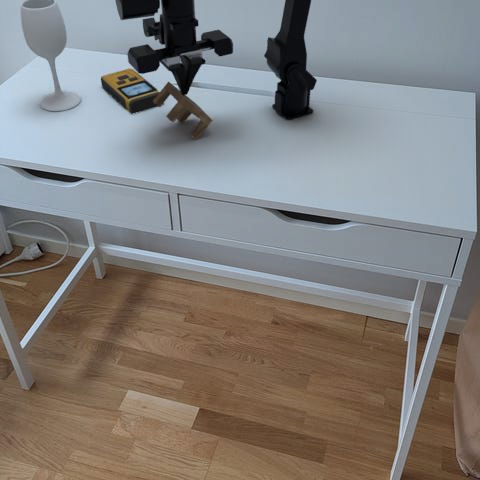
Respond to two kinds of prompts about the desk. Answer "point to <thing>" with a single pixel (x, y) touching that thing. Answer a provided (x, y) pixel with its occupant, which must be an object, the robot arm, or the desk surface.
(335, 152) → the desk surface
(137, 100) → the electronic device
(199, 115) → the footstool
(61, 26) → the wineglass
